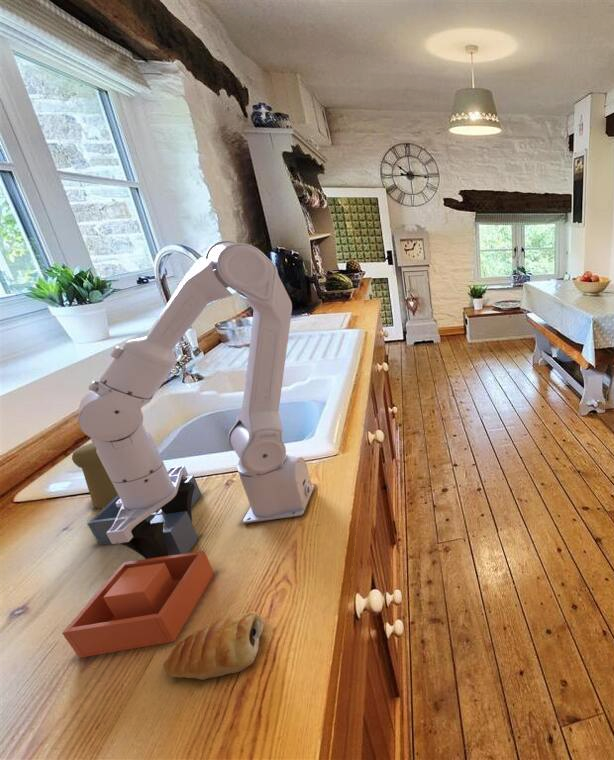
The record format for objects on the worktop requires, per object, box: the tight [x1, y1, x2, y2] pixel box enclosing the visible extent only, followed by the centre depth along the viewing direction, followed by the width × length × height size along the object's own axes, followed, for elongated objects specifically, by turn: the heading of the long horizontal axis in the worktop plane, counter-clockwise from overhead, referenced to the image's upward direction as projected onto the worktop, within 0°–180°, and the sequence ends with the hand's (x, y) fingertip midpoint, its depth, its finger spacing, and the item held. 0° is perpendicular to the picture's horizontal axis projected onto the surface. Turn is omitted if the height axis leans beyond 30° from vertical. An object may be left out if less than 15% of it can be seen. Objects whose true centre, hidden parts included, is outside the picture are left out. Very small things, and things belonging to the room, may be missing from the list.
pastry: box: [162, 610, 265, 681], centre depth 47 cm, size 9×7×4 cm
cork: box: [71, 442, 118, 509], centre depth 74 cm, size 6×6×11 cm
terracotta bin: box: [61, 550, 215, 659], centre depth 53 cm, size 10×10×4 cm
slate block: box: [150, 511, 199, 556], centre depth 62 cm, size 4×4×6 cm
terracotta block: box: [103, 563, 176, 620], centre depth 52 cm, size 4×4×6 cm
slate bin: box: [87, 475, 203, 546], centre depth 69 cm, size 10×10×4 cm
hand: (172, 543), depth 62 cm, fingers open, 6 cm apart
